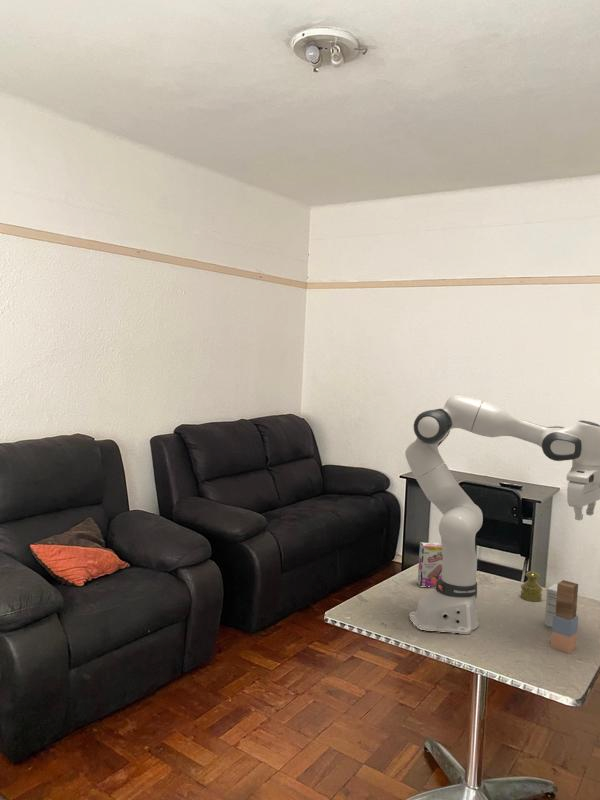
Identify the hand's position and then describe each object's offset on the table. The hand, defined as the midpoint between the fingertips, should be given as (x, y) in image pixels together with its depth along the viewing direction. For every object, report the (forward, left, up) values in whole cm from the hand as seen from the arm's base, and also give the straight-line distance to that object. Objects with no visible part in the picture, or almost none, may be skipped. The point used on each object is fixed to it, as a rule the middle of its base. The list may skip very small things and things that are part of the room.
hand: (584, 517), depth 198 cm
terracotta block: (-7, -5, -39) cm, 40 cm away
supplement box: (0, +10, -39) cm, 41 cm away
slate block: (-7, -5, -34) cm, 35 cm away
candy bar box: (-31, +47, -39) cm, 69 cm away
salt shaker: (+2, +34, -39) cm, 52 cm away
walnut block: (-7, -5, -29) cm, 31 cm away
